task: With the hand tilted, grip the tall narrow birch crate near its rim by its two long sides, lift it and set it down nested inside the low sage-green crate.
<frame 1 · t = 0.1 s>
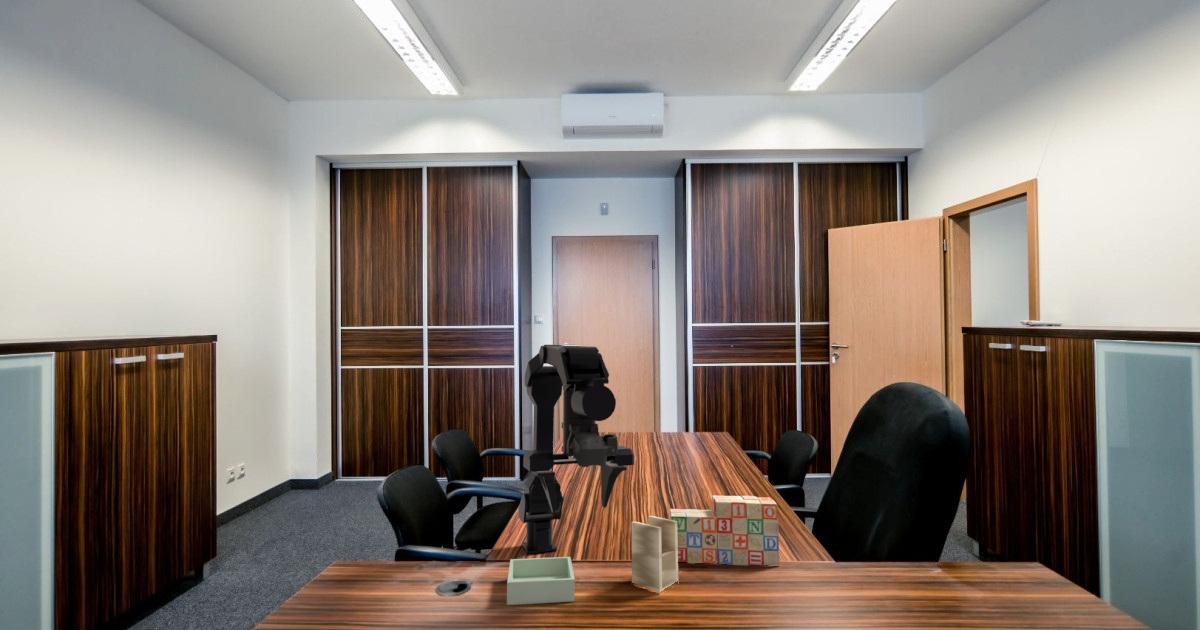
hand: (579, 509, 89), 15 cm above the table, tool pointing down, fingers open, 9 cm apart
stack of blocks: (723, 561, 106), on the table
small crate: (655, 584, 94), on the table
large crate: (540, 589, 91), on the table
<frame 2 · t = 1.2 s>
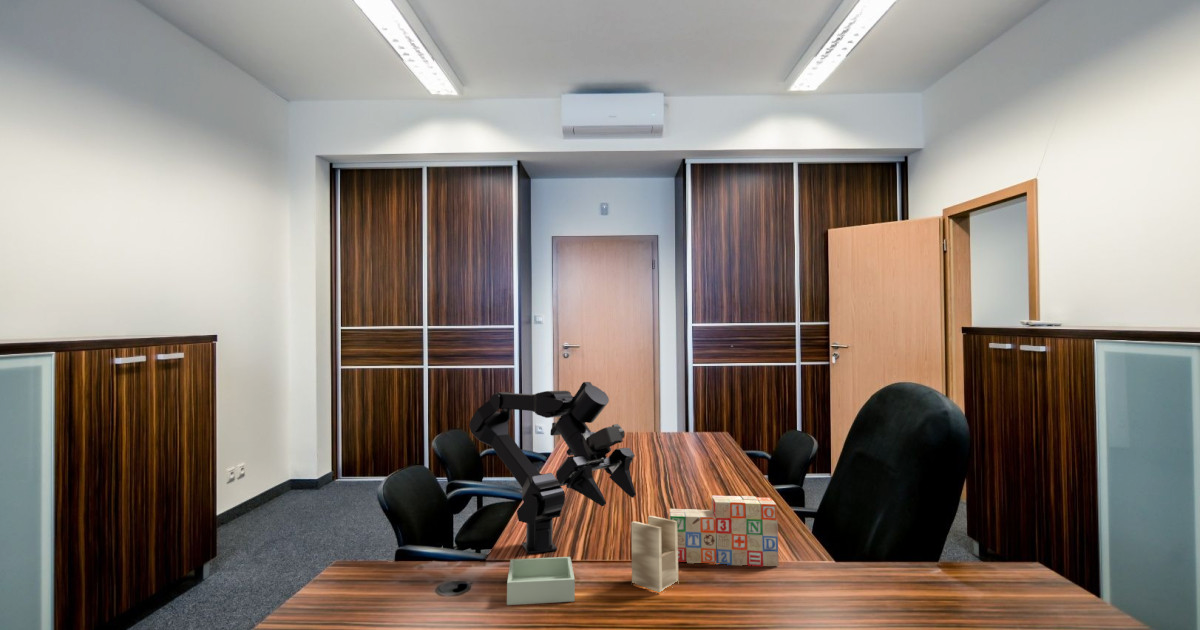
hand: (619, 500, 100), 14 cm above the table, tool tilted 45°, fingers open, 9 cm apart
nothing on the table moved.
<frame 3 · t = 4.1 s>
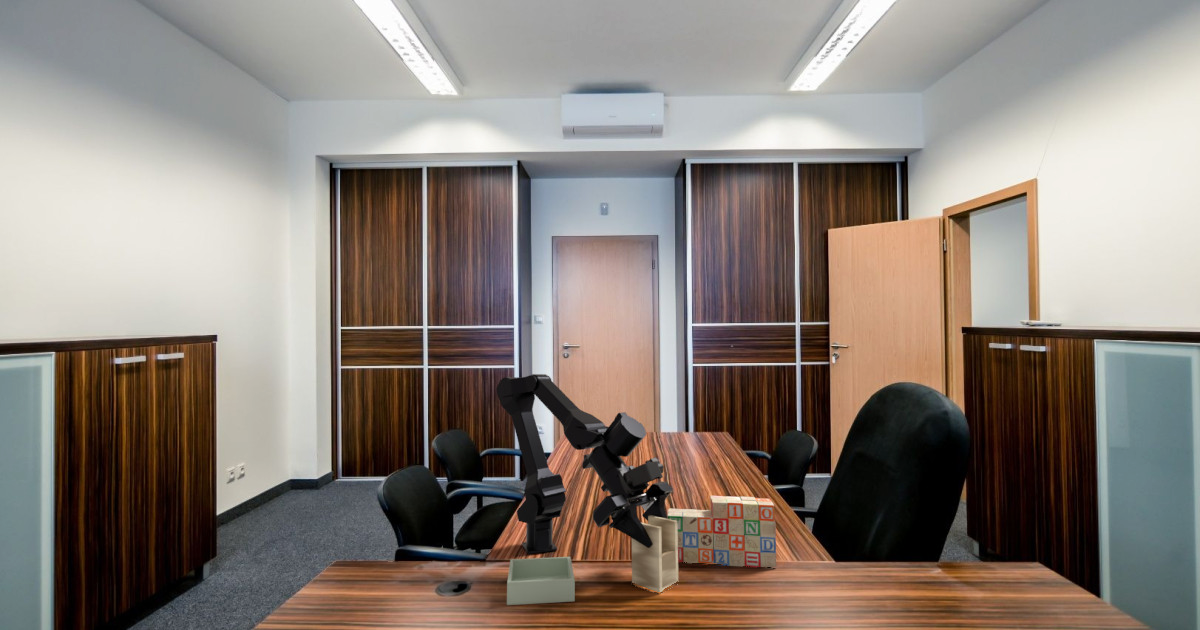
hand: (661, 542, 94), 8 cm above the table, tool tilted 45°, fingers closed on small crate, 6 cm apart
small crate: (655, 584, 94), on the table, touching gripper
when the fingers open (10 cm above the table, at t = 7.7 s): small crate drops 2 cm, resting on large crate.
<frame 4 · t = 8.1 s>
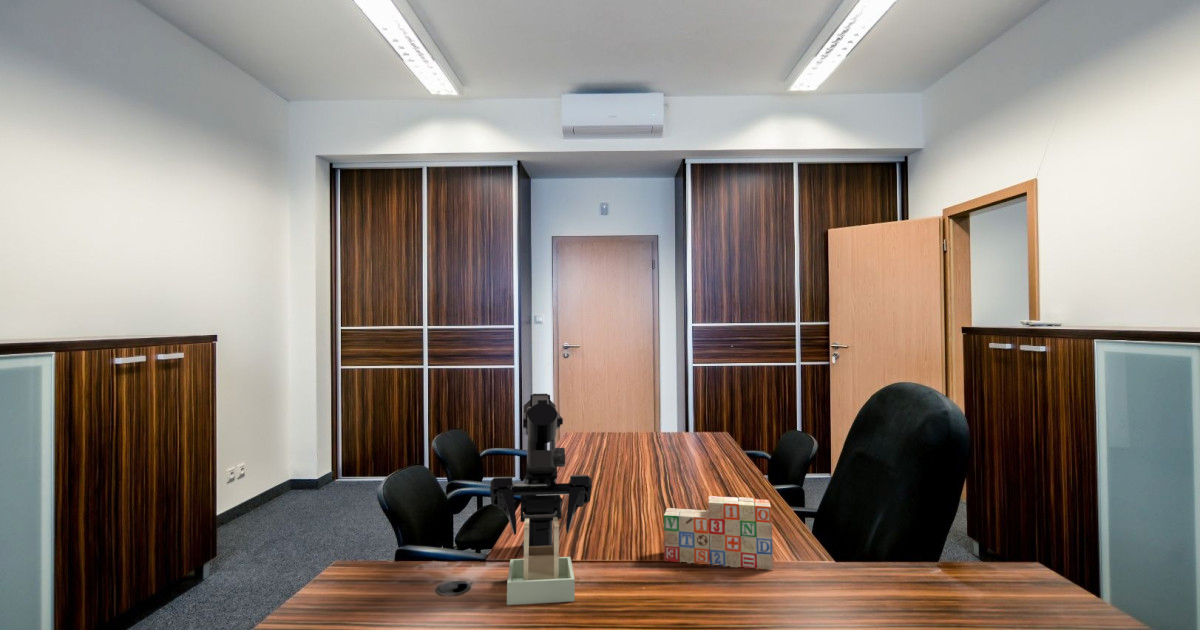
hand: (541, 532, 91), 10 cm above the table, tool tilted 45°, fingers open, 9 cm apart
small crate: (540, 586, 91), resting on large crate
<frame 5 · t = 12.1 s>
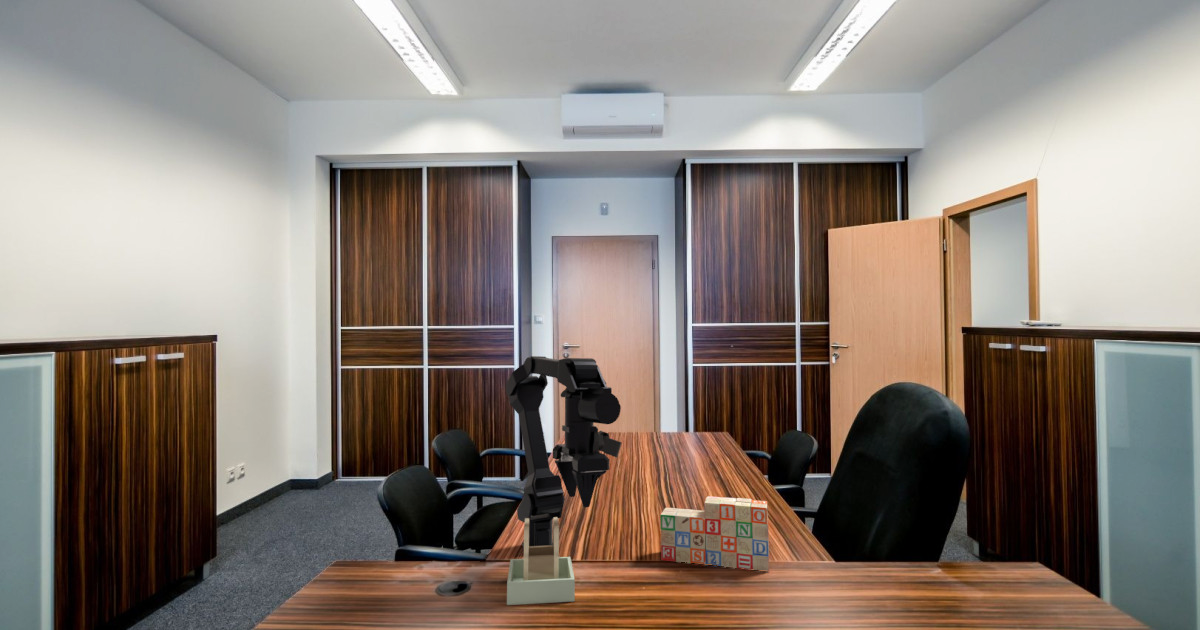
hand: (579, 501, 102), 13 cm above the table, tool pointing down, fingers open, 9 cm apart
at the end: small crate inside the target area on the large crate (0.1 cm from its centre), point 0.5 cm above the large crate's base; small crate tilted 0°; the gripper is holding nothing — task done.
